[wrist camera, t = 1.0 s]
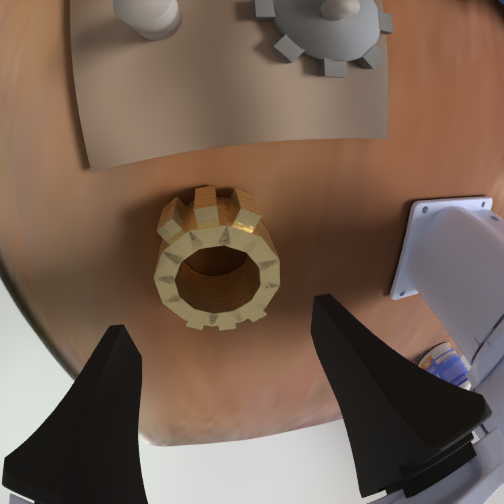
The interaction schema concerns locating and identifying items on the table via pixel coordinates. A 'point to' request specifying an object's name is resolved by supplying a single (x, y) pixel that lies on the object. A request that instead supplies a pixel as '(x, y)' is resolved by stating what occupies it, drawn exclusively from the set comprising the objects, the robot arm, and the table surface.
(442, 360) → the pill bottle
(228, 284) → the gear
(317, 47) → the gear board
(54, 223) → the table surface
